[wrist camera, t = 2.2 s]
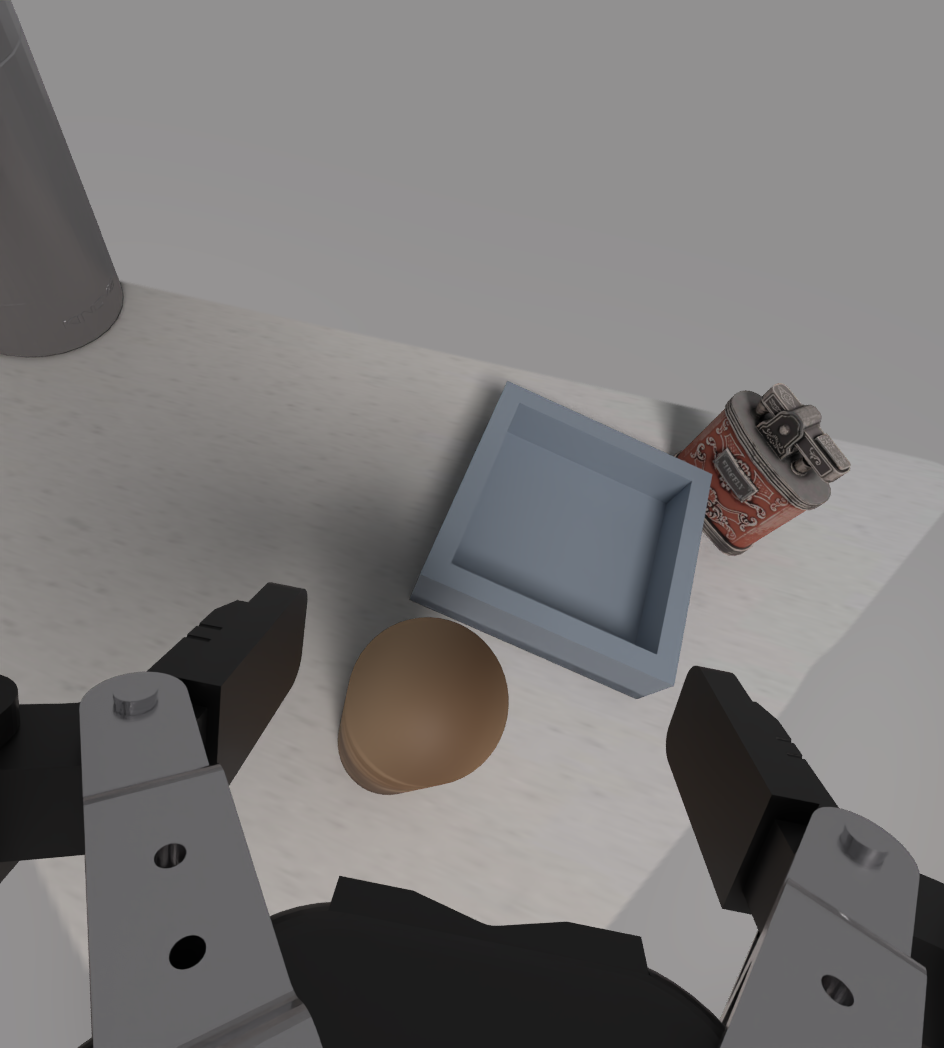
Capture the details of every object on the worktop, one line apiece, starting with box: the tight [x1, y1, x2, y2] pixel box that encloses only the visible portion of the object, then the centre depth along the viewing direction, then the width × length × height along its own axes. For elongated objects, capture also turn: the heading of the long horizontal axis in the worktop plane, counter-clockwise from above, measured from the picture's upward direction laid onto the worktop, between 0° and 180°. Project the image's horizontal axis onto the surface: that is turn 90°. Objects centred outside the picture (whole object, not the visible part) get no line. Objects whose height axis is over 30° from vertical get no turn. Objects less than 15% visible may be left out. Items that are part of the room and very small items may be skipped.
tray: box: [410, 381, 712, 699], centre depth 34 cm, size 14×14×4 cm
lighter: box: [674, 383, 851, 556], centre depth 36 cm, size 8×3×10 cm, turn 27°
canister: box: [338, 617, 508, 795], centre depth 24 cm, size 5×5×12 cm
